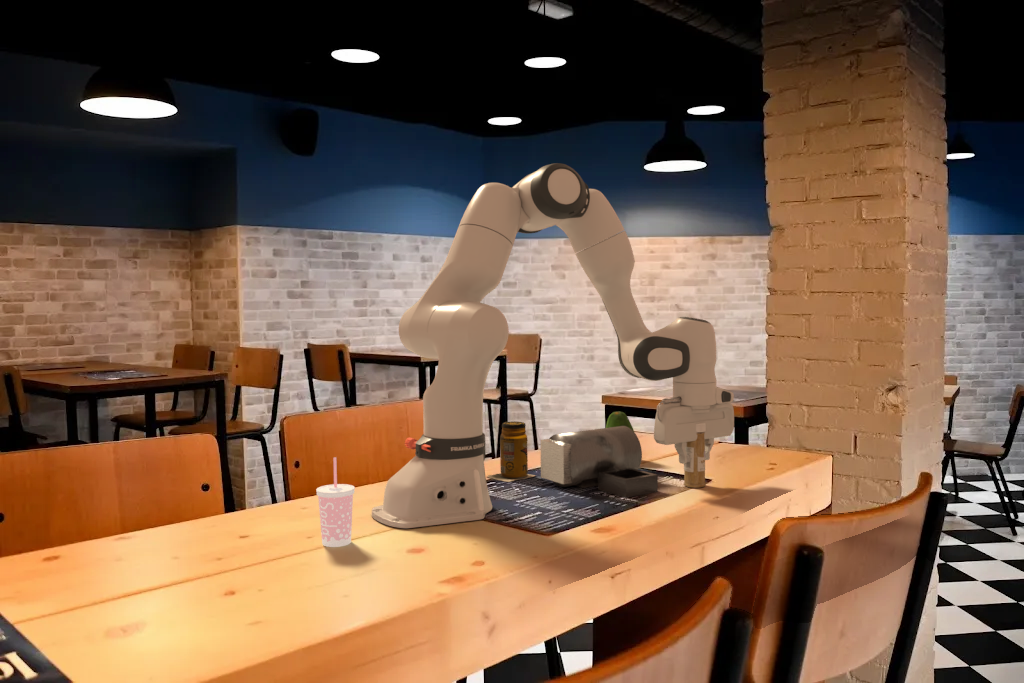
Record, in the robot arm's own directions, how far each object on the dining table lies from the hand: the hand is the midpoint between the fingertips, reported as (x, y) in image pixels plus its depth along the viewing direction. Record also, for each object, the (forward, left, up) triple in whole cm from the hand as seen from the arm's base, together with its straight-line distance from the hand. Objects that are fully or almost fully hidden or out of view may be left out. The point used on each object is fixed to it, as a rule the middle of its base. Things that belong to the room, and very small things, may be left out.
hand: (694, 461), depth 170 cm
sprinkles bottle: (0, 0, -5) cm, 5 cm away
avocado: (+5, +29, -5) cm, 30 cm away
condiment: (-26, +30, -5) cm, 40 cm away
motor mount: (-14, +11, -5) cm, 19 cm away
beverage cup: (-76, +6, -5) cm, 76 cm away
